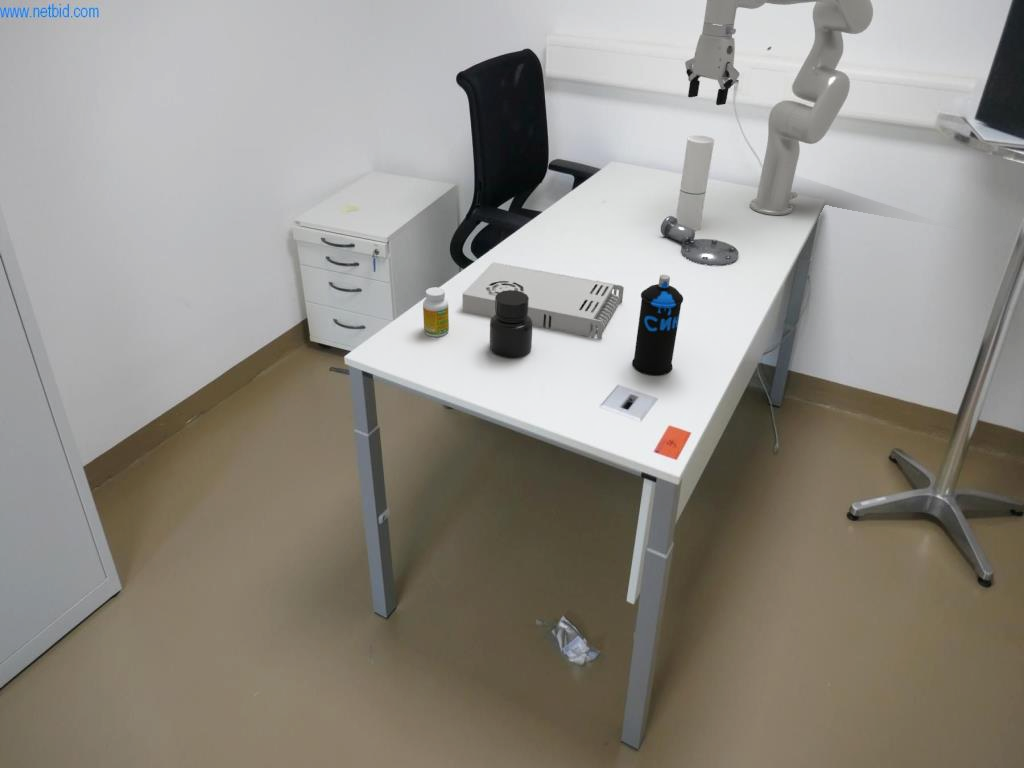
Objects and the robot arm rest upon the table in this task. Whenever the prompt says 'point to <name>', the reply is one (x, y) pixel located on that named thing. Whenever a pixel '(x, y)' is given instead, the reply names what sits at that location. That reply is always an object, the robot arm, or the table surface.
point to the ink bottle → (511, 325)
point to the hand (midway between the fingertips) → (706, 100)
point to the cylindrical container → (694, 181)
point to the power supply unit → (548, 298)
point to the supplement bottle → (435, 312)
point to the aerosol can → (657, 328)
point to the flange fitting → (699, 245)
